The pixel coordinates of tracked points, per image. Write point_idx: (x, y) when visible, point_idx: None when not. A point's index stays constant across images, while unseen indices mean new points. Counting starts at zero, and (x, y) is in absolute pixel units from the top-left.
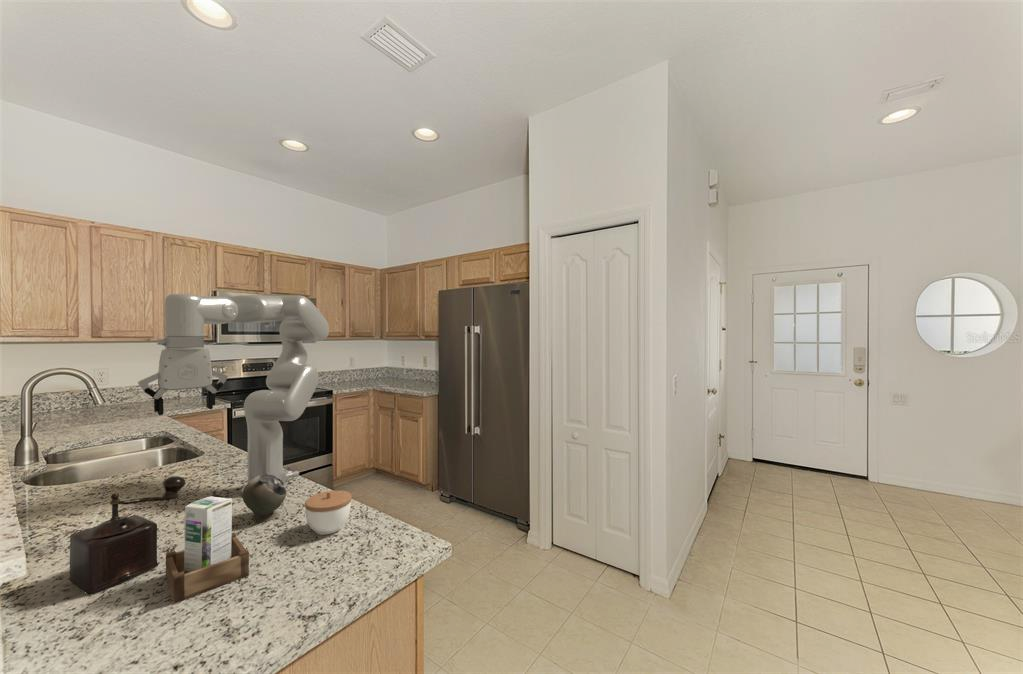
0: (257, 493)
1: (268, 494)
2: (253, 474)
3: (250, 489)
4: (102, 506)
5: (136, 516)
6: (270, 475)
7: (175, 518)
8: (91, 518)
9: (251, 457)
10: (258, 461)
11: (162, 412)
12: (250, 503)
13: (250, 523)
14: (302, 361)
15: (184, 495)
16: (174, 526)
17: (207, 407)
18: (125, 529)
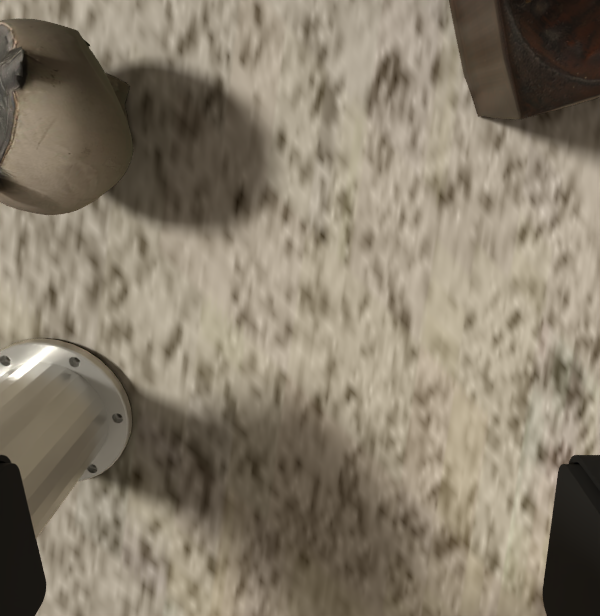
0: (63, 39)
1: (24, 21)
2: (61, 422)
3: (82, 79)
4: (482, 613)
5: (523, 82)
6: None
7: (336, 353)
8: (519, 537)
9: (27, 478)
10: (10, 440)
11: (585, 479)
12: (111, 88)
13: (143, 101)
14: None
15: (286, 540)
16: (349, 282)
17: (32, 550)
18: None
